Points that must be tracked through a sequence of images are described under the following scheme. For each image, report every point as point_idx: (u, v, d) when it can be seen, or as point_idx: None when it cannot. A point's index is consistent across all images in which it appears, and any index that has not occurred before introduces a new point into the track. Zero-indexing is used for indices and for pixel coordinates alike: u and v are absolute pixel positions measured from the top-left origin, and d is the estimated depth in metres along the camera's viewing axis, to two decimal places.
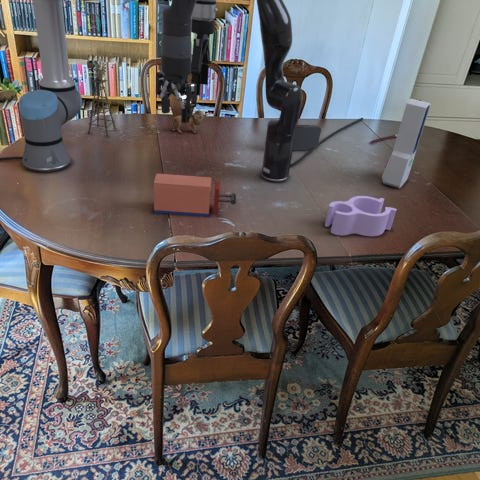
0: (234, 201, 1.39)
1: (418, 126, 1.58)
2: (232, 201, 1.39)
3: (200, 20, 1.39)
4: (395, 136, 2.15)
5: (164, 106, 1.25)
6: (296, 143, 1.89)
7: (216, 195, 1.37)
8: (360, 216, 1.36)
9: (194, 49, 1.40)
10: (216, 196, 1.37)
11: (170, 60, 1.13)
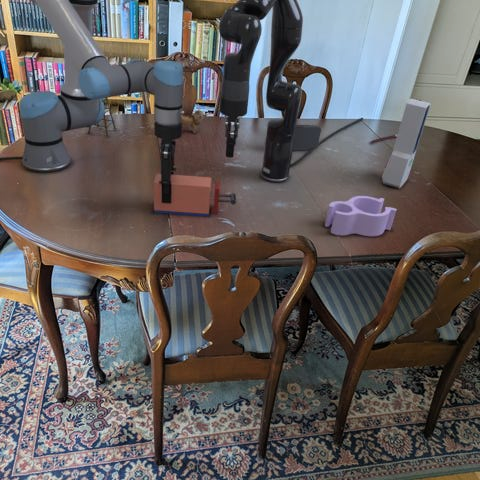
0: (234, 201, 1.39)
1: (418, 126, 1.58)
2: (232, 201, 1.39)
3: (166, 126, 1.24)
4: (395, 136, 2.15)
5: None
6: (296, 143, 1.89)
7: (216, 195, 1.37)
8: (360, 216, 1.36)
9: (162, 161, 1.27)
10: (216, 196, 1.37)
11: (222, 100, 1.22)
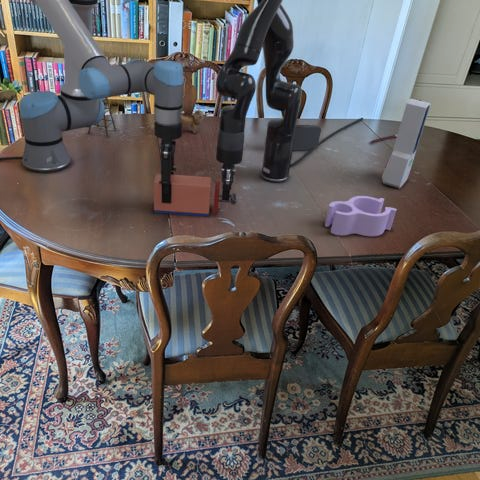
0: (234, 201, 1.39)
1: (418, 126, 1.58)
2: (232, 201, 1.39)
3: (166, 126, 1.24)
4: (395, 136, 2.15)
5: None
6: (296, 143, 1.89)
7: (216, 195, 1.37)
8: (360, 216, 1.36)
9: (162, 161, 1.27)
10: (216, 196, 1.37)
11: (218, 149, 1.30)
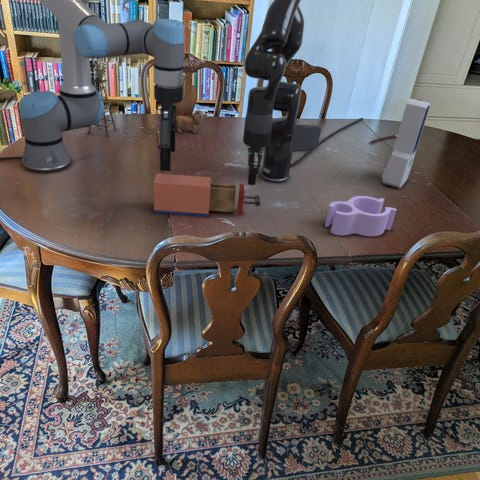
0: (259, 203, 1.39)
1: (418, 126, 1.58)
2: (257, 203, 1.39)
3: (167, 88, 1.19)
4: (395, 136, 2.15)
5: None
6: (296, 143, 1.89)
7: (241, 197, 1.37)
8: (360, 216, 1.36)
9: (162, 122, 1.20)
10: (241, 198, 1.38)
11: (246, 132, 1.27)
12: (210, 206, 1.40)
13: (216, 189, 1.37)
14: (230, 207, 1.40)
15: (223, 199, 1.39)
